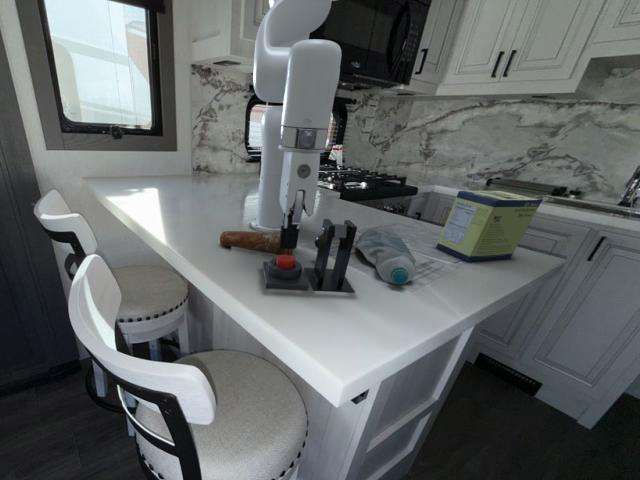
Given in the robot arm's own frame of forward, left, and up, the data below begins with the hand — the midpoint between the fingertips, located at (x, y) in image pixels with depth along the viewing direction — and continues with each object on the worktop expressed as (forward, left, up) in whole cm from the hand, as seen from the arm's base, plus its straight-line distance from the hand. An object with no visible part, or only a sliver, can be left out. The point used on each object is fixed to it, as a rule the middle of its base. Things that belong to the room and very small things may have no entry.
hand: (287, 247), depth 59 cm
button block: (0, 0, -8) cm, 7 cm away
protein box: (-23, +55, -8) cm, 60 cm away
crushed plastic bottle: (-8, +24, -8) cm, 27 cm away
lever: (-3, +9, 0) cm, 10 cm away
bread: (-16, -5, -8) cm, 18 cm away
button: (0, 0, -4) cm, 4 cm away
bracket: (0, +9, -7) cm, 12 cm away
